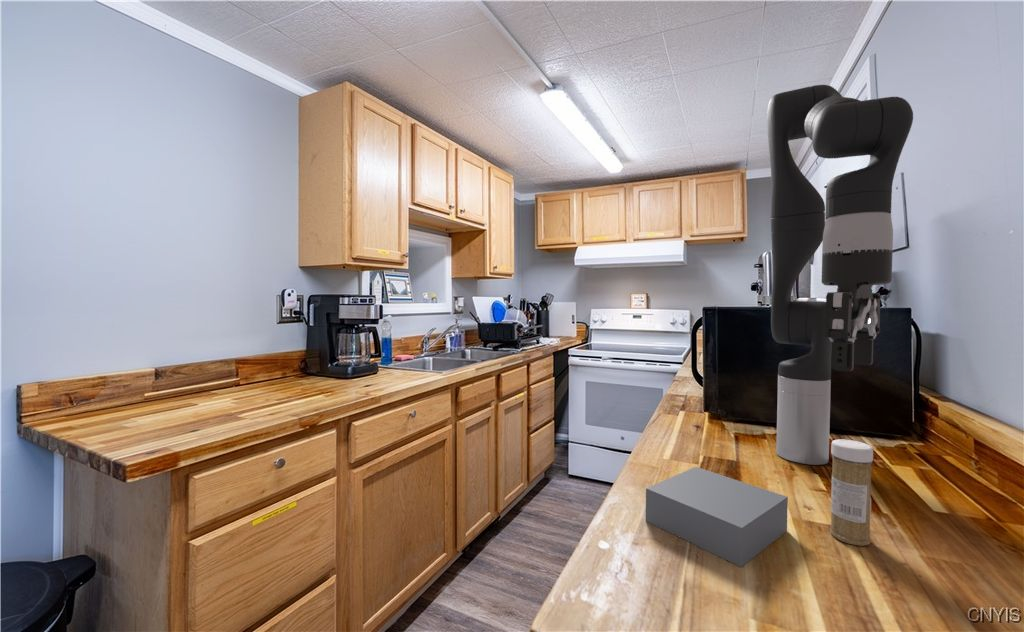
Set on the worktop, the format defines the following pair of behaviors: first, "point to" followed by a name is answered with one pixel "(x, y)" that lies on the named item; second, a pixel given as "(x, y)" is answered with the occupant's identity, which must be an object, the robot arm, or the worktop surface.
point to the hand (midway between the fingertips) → (852, 367)
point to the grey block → (718, 513)
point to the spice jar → (851, 491)
